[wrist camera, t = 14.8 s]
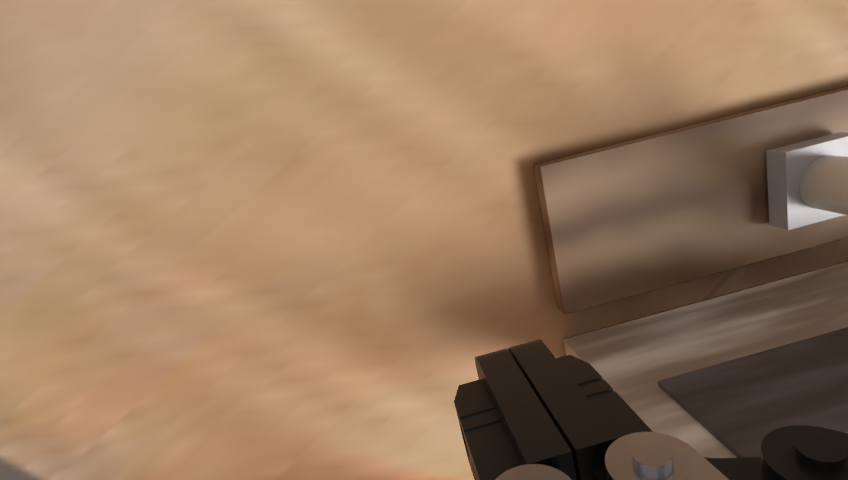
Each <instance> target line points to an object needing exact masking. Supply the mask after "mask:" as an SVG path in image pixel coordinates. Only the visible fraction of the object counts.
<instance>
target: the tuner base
mask: <svg viewBox="0 0 848 480" xmlns="http://www.w3.org/2000/svg"><path fill="white" fill-rule="evenodd" d="M837 132H845V133H848V86H846V87H842V88H838V89H834V90H830V91H826V92H822V93H818V94H814V95H810V96H806V97H802V98H798V99H794V100H790V101H786V102H782V103H778V104H774V105H770V106H766V107H762V108H758V109H754V110H750V111H746V112H742V113H738V114H734V115H730V116H726V117H722V118H718V119H714V120H710V121H706V122H702V123H698V124H694V125H690V126H686V127H682V128H678V129H674V130H670V131H666V132H662V133H658V134H654V135H650V136H646V137H642V138H638V139H635V140H631V141H627V142H623V143H619V144H615V145H611V146H607V147H603V148H599V149H595V150H591V151H587V152H583V153H579V154H575V155H571V156H567V157H563V158H559V159H555V160H551V161H547V162H543V163H539V164H535V165H533V166H534V172H535V178H536V183H537V189H538V195H539V201H540V207H541V213H542V219H543V225H544V230H545V236H546V242H547V248H548V254H549V260H550V266H551V272H552V277H553V283H554V289H555V295H556V301H557V307H558V308H559V309H560V310H561V311H562V312H563V313H564V314H567V313H571V312H575V311H578V310H582V309H586V308H590V307H593V306H597V305H601V304H604V303H608V302H612V301H615V300H619V299H623V298H626V297H630V296H634V295H638V294H641V293H645V292H649V291H652V290H656V289H660V288H663V287H667V286H671V285H674V284H678V283H682V282H685V281H689V280H693V279H697V278H700V277H704V276H708V275H711V274H715V273H719V272H722V271H726V270H730V269H733V268H737V267H741V266H744V265H748V264H752V263H756V262H759V261H763V260H767V259H770V258H774V257H778V256H781V255H785V254H789V253H792V252H796V251H800V250H804V249H807V248H811V247H815V246H818V245H822V244H826V243H829V242H833V241H837V240H840V239H844V238H848V215H843V216H839V217H835V218H832V219H828V220H824V221H820V222H817V223H813V224H809V225H806V226H802V227H798V228H794V229H791V230H786V229H782V228H778V227H775V226H771V225H769V204H768V181H767V159H766V151H767V150H771V149H775V148H779V147H783V146H787V145H791V144H794V143H798V142H802V141H806V140H810V139H814V138H818V137H822V136H826V135H830V134H833V133H837ZM563 342H564V348H565V354H566V356H567V355H572V356H574V357H576V358H579V359H581V360H583V361H585V362H587V363H590V364H591V365H592V367H593V368H594V369H595V370H596V371H597V372H598V373H599V374H600V375H601V376H602V378H603V380H605V381H606V382H607V383H608V384H609V385H610V386H611V387H612V388H613V391H614V392H615V391H616V392H617V394H618V395H619V396H620V397H621V398H622V399H623V400H624V401H625V402H626V403H627V404H628V405H629V406H630V408H631V409H632V410H633V411H634V412H635V413H636V414H637V415H638V416H639V417H640V418H641V419H642V420H643V422H644V423H645V424H646V425H647V426H648V427H649V428H650V429H651V430H652V431H653V432H657V433H663V434H667V435H670V436H673V437H676V438H678V439H680V440H682V441H684V442H686V443H687V444H688V445H690V446H691V447H692V448H694V449H695V450H696V451H697V452H698V453H699V454H700V455H702V456H703V457H708V458H745V457H761V443H762V440H763V439H764V437H765V436H766V435H767V434H768V433H770V432H771V431H773V430H775V429H778V428H781V427H786V426H793V425H809V426H817V427H823V428H828V429H832V430H836V431H840V432H844V433H848V261H847V262H844V263H840V264H836V265H833V266H829V267H825V268H822V269H818V270H814V271H811V272H807V273H803V274H800V275H796V276H793V277H789V278H785V279H782V280H778V281H774V282H771V283H767V284H763V285H760V286H756V287H752V288H749V289H745V290H742V291H738V292H734V293H731V294H727V295H723V296H720V297H716V298H712V299H709V300H705V301H701V302H698V303H694V304H690V305H687V306H683V307H680V308H676V309H672V310H669V311H665V312H661V313H658V314H654V315H650V316H647V317H643V318H639V319H636V320H632V321H629V322H625V323H621V324H618V325H614V326H610V327H607V328H603V329H599V330H596V331H592V332H588V333H585V334H581V335H577V336H574V337H570V338H567V339H563Z"/></svg>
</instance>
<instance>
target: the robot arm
mask: <svg viewBox="0 0 848 480" xmlns="http://www.w3.org/2000/svg"><path fill="white" fill-rule="evenodd" d="M475 363H476V368H477V372H478V377H479V380H477V381H473V382H470V383H466V384H463V385H459V387H458V391H457V394H456V397H455V400H454V403H455V407H456V411H457V415H458V419H459V423H460V427H461V431H462V436H463V440H464V444H465V448H466V452H467V456H468V460H469V463H470V466H471V470H472V473H473V476H474V479H475V480H848V433H844V432H840V431H836V430H832V429H828V428H823V427H817V426H809V425H793V426H786V427H781V428H778V429H775V430H773V431H771V432H770V433H768V434H767V435H766V436H765V437H764V439H763V440H762V443H761V457H745V458H708V457H703V456H702V455H700V454H699V453H698V452H697V451H696V450H695V449H694V448H692V447H691V446H690V445H688V444H687V443H686V442H684V441H682V440H680V439H678V438H676V437H673V436H670V435H667V434H663V433H657V432H653V431H652V430H651V429H650V428H649V427H648V426H647V425H646V424H645V423H644V422H643V420H642V419H641V418H640V417H639V416H638V415H637V414H636V413H635V412H634V411H633V410H632V409H631V408H630V406H629V405H628V404H627V403H626V402H625V401H624V400H623V399H622V398H621V397H620V396H619V395H618V394H617V392H616V391H615V392H614V391H613V388H612V387H611V386H610V385H609V384H608V383H607V382H606V381H605V380H603V378H602V376H601V375H600V374H599V373H598V372H597V371H596V370H595V369H594V368H593V367H592V365H591V364H590V363H587V362H585V361H583V360H581V359H579V358H576V357H574V356H572V355H567V356H563V357H560V358H555V357H554V355H553V354H552V353H551V352H550V350H549V349H548V348H547V347H546V345H545V344H544V343H543V342H542V341H541V340H536V341H532V342H528V343H525V344H521V345H517V346H514V347H510V348H508V350H507V349H503V350H500V351H496V352H492V353H489V354H485V355H481V356H478V357H475Z"/></svg>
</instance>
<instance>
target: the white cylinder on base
mask: <svg viewBox="0 0 848 480" xmlns="http://www.w3.org/2000/svg"><path fill="white" fill-rule="evenodd" d="M766 159H767V181H768V204H769V225H771V226H775V227H778V228H782V229H786V230H791V229H794V228H798V227H802V226H806V225H809V224H813V223H817V222H820V221H824V220H828V219H832V218H835V217H839V216H843V215H848V133H845V132H837V133H833V134H830V135H826V136H822V137H818V138H814V139H810V140H806V141H802V142H798V143H794V144H791V145H787V146H783V147H779V148H775V149H771V150H767V151H766Z"/></svg>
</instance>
